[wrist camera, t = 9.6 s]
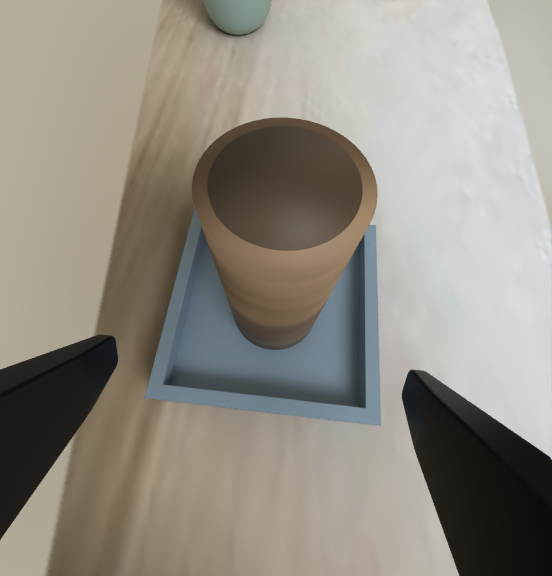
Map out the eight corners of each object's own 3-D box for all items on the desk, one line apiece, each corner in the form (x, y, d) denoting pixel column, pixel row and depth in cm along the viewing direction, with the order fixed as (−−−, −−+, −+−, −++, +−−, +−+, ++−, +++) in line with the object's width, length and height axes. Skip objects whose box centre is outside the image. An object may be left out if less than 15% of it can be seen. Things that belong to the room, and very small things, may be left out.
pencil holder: (325, 339, 19) (407, 243, 8) (242, 359, 19) (206, 284, 7) (303, 265, 21) (343, 106, 10) (227, 280, 21) (180, 129, 9)
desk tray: (368, 424, 18) (380, 426, 16) (158, 399, 18) (144, 397, 16) (366, 241, 23) (375, 225, 21) (201, 224, 23) (194, 206, 21)
